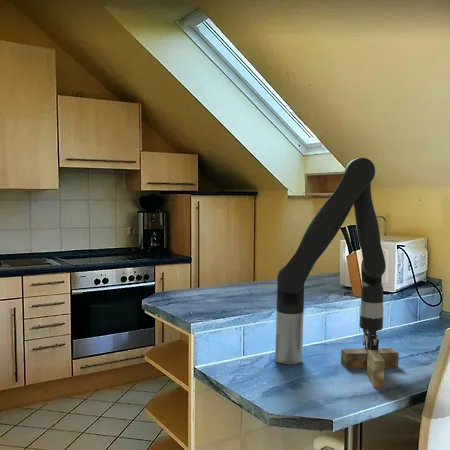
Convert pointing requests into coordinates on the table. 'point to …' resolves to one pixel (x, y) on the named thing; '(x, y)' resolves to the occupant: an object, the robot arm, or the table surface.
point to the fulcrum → (375, 368)
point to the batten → (359, 357)
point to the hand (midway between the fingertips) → (369, 363)
